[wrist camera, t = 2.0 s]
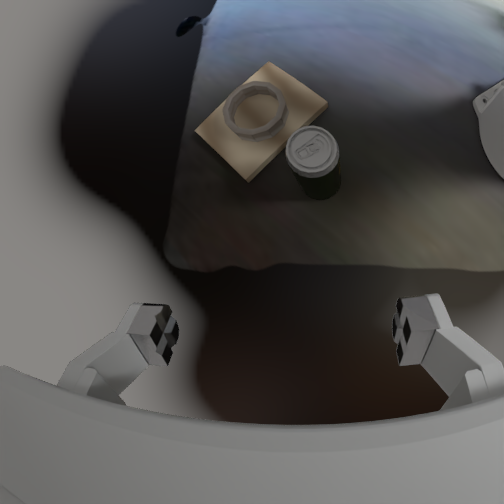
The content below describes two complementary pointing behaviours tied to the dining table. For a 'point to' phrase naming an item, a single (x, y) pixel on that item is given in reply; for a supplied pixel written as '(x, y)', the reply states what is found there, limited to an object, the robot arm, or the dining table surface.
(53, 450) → the robot arm
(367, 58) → the dining table surface
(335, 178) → the beer can
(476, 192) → the dining table surface
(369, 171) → the dining table surface
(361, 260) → the dining table surface
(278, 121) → the board
